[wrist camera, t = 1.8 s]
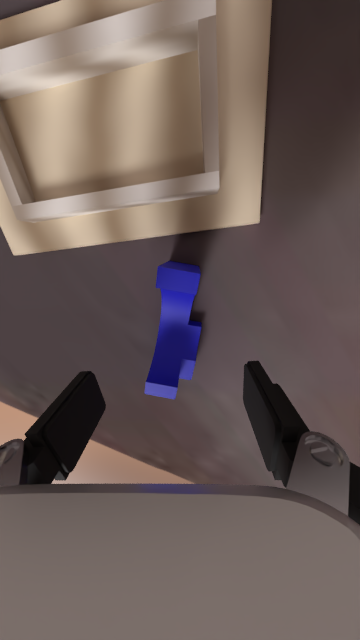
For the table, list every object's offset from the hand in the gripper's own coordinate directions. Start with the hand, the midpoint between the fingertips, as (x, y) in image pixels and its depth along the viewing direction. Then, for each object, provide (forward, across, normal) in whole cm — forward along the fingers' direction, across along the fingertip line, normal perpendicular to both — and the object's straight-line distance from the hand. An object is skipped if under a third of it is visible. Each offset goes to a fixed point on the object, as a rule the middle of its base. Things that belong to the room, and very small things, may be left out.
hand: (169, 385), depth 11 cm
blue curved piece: (+10, 0, 0) cm, 10 cm away
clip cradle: (+10, +4, -16) cm, 19 cm away
